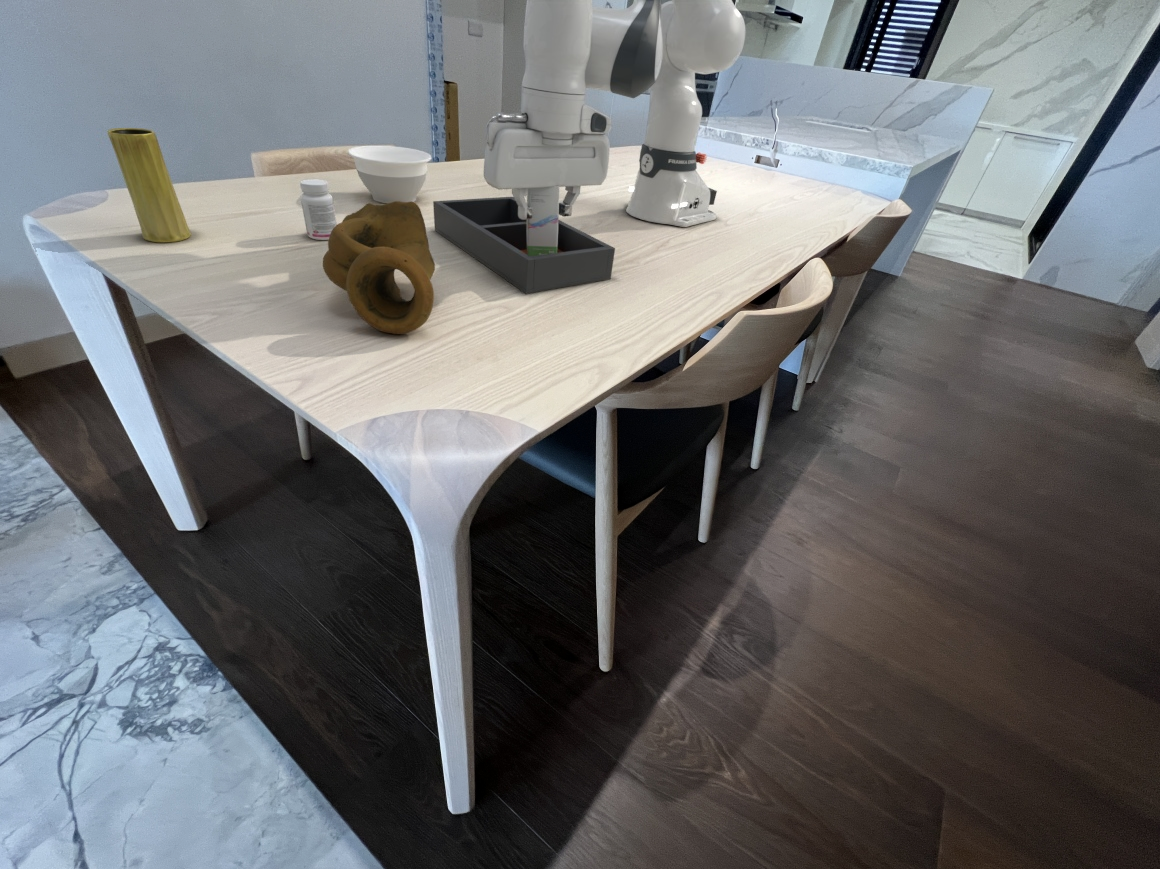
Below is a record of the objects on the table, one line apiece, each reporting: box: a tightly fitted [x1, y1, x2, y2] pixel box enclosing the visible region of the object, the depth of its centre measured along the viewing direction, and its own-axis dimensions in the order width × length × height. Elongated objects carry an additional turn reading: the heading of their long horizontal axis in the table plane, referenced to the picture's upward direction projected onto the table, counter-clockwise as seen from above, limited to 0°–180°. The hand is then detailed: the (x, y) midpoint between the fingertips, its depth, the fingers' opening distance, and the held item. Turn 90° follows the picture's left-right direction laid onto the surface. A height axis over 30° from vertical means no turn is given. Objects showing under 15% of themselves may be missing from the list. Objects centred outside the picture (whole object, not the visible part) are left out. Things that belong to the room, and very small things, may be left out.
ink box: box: [526, 185, 560, 257], centre depth 85 cm, size 9×5×12 cm, turn 4°
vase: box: [106, 127, 192, 243], centre depth 77 cm, size 6×6×14 cm
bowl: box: [347, 145, 432, 204], centre depth 109 cm, size 16×16×8 cm
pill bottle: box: [299, 178, 338, 241], centre depth 86 cm, size 5×5×8 cm
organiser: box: [432, 196, 616, 295], centre depth 91 cm, size 16×32×5 cm, turn 37°
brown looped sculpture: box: [322, 201, 436, 335], centre depth 69 cm, size 18×13×22 cm
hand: (545, 217), depth 83 cm, fingers closed on ink box, 6 cm apart
